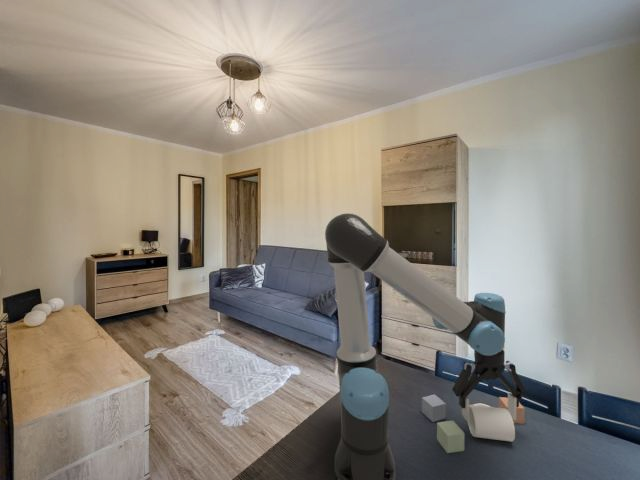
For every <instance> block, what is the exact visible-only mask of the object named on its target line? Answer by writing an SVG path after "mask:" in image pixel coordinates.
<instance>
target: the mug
mask: <svg viewBox="0 0 640 480" xmlns="http://www.w3.org/2000/svg"><path fill="white" fill-rule="evenodd" d="M467 426H468V429H469V432H470V435H472V437H474V438H481V439H488V440H497V441H502V442H503V441H505V442H511V443H512V442H514V440H515V438H516V428H515V423H513V419H512V417H511V415H510V413H509V411H508V410H507V409H505V408H499V407H496V406H495V407H494V406H490V405H488V404H485V403H480V402H479V403H478V402H477V403H474V404H469V421H467Z"/></svg>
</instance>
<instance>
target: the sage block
mask: <svg viewBox="0 0 640 480" xmlns="http://www.w3.org/2000/svg"><path fill="white" fill-rule="evenodd" d="M436 440H437V442H438V443H439V444H440V446H441V447H442V448H443V449H444V451H445V452H446V454H450V453H458V452H459V453H460V452H464V451H465V432H464V431H463V430H462V429H461V428H460V427H459V425H458V424H457V423H456V422H455V421H454V420H448V421H437V422H436Z"/></svg>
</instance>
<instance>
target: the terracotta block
mask: <svg viewBox="0 0 640 480" xmlns="http://www.w3.org/2000/svg"><path fill="white" fill-rule="evenodd" d="M498 408H505V409H507V410H508V397H506V396H505V397H502V396H499V397H498ZM525 411H526V409H525V407H524V406H523V405H522V404H521V403H520V402H519V407H516V420H513V423H514V424H520V425H521V424H523V425H525Z"/></svg>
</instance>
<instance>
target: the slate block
mask: <svg viewBox="0 0 640 480" xmlns="http://www.w3.org/2000/svg"><path fill="white" fill-rule="evenodd" d="M446 407H447V404H446V402H445V401H443V400H442V399H441V398H440V397H438V396H437V395H436V394H430V395H427V396H423V397H421V413H422V414H423V415H425V417H426V418H428V419H429V420H430V421H431V422H432V423H436V422H439V421H441V420H445V419H446V418H447V417H446V413H447V412H446V411H447V408H446Z"/></svg>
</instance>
